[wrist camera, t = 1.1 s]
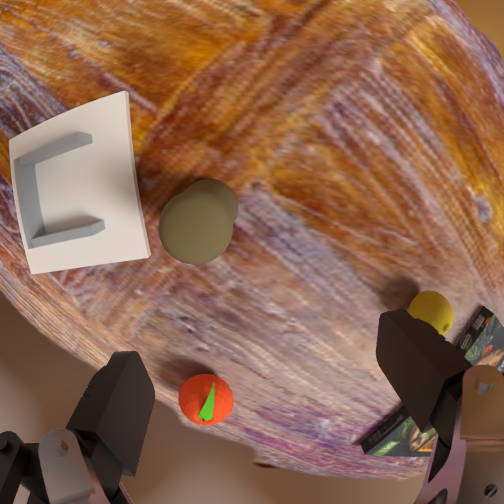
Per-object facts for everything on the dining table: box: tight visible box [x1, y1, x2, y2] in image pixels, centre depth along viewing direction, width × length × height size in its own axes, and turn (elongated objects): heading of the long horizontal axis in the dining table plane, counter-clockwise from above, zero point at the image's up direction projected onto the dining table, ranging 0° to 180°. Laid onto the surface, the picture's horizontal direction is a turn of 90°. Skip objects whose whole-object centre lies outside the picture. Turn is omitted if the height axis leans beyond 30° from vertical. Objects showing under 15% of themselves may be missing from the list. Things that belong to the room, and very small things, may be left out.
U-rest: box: [9, 91, 151, 274], centre depth 24 cm, size 18×18×4 cm
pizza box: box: [360, 306, 504, 457], centre depth 41 cm, size 35×35×4 cm
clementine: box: [179, 374, 233, 425], centre depth 31 cm, size 8×7×7 cm
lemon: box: [409, 291, 454, 335], centre depth 29 cm, size 6×6×8 cm
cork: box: [158, 179, 238, 265], centre depth 23 cm, size 6×6×11 cm
